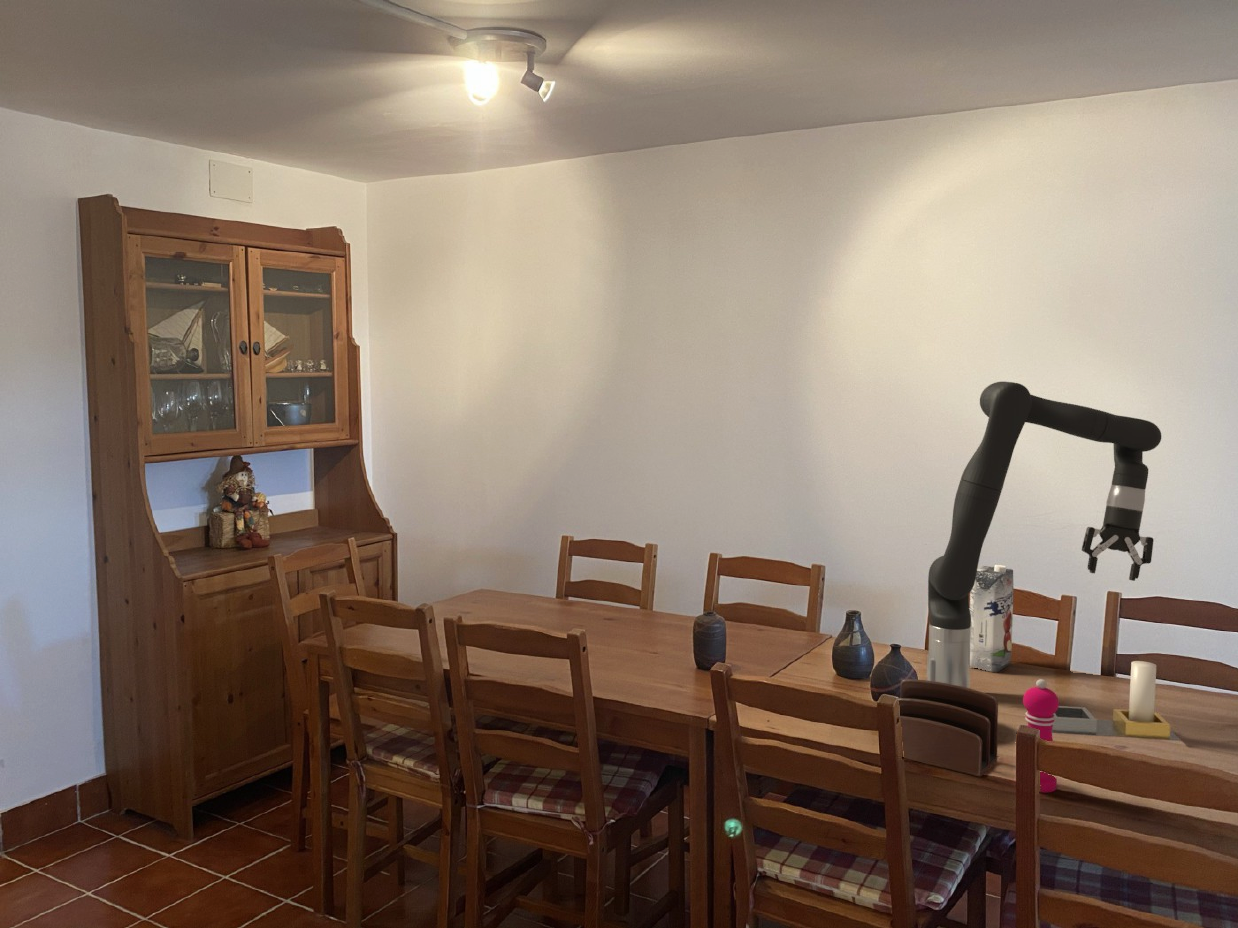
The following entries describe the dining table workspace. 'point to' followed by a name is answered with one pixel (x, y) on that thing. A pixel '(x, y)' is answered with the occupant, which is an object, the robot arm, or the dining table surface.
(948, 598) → the robot arm
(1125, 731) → the peg insertion base
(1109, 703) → the dining table surface
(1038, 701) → the pepper mill
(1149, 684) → the cream peg
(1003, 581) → the juice carton
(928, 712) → the letter holder
